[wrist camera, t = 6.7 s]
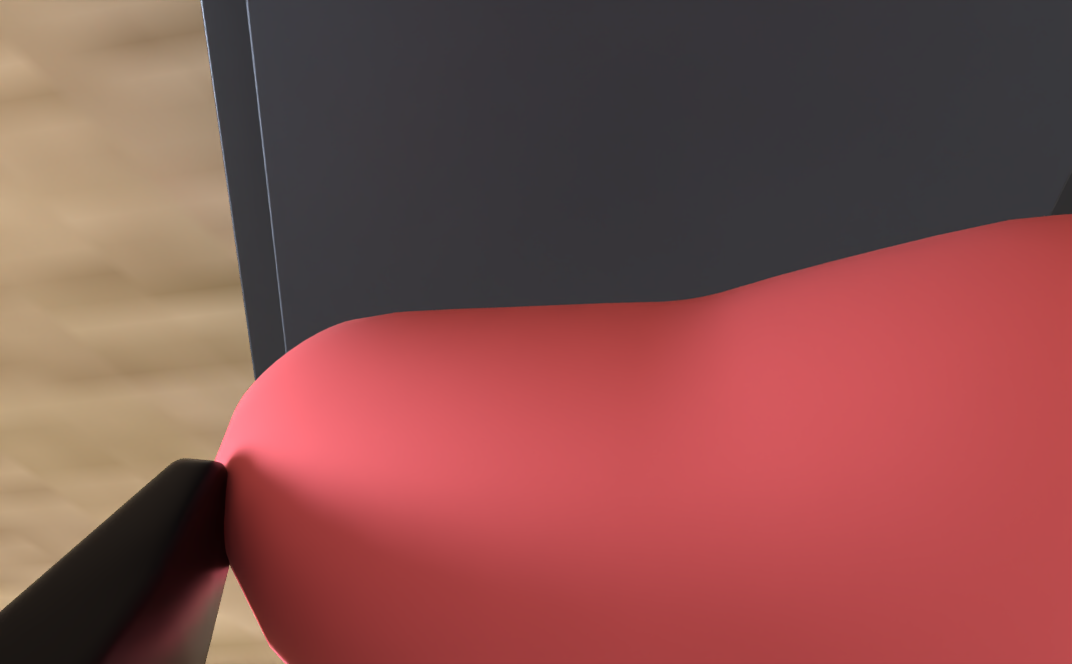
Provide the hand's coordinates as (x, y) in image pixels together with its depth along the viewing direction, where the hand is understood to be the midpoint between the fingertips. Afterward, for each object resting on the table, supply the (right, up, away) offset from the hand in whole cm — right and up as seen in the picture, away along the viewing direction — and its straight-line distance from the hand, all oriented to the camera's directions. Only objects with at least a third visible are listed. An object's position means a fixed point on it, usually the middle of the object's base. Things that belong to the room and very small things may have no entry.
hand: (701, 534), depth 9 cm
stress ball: (0, +2, +2) cm, 3 cm away
